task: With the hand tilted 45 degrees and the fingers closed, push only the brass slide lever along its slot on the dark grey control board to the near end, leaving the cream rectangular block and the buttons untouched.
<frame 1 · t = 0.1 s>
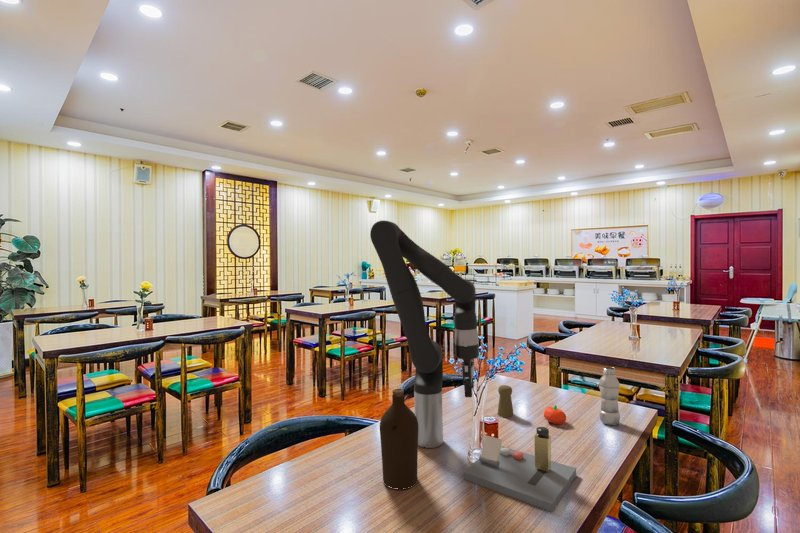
hand: (469, 392, 130), 17 cm above the table, tool pointing down, fingers open, 8 cm apart
control board: (520, 477, 111), on the table
plastic bottle: (609, 424, 144), on the table
cream rectangular block: (491, 450, 115), point 6 cm above the table, hinge at -28.0°
slide lever: (542, 448, 111), point 8 cm above the table, slide at 0.0 cm
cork: (505, 415, 154), on the table
pumpkin: (554, 422, 147), on the table
olive oil: (400, 481, 111), on the table
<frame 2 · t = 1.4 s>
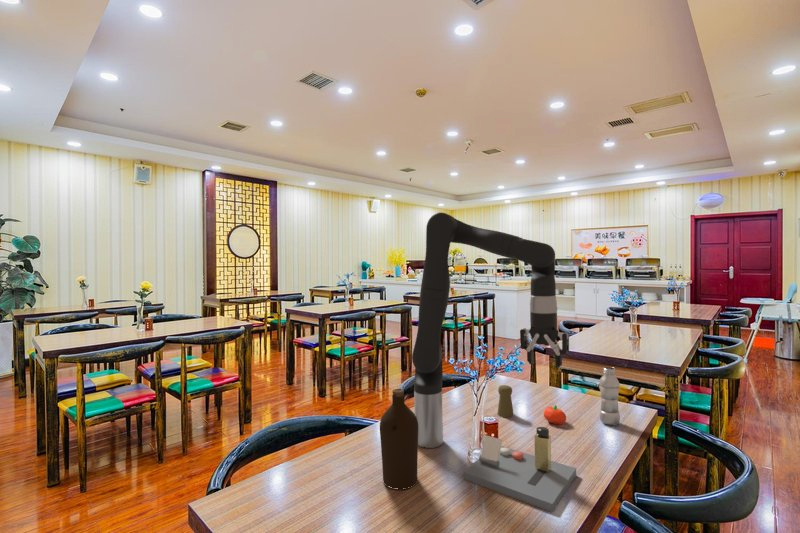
hand: (544, 365, 120), 28 cm above the table, tool pointing down, fingers open, 7 cm apart
nothing on the table moved.
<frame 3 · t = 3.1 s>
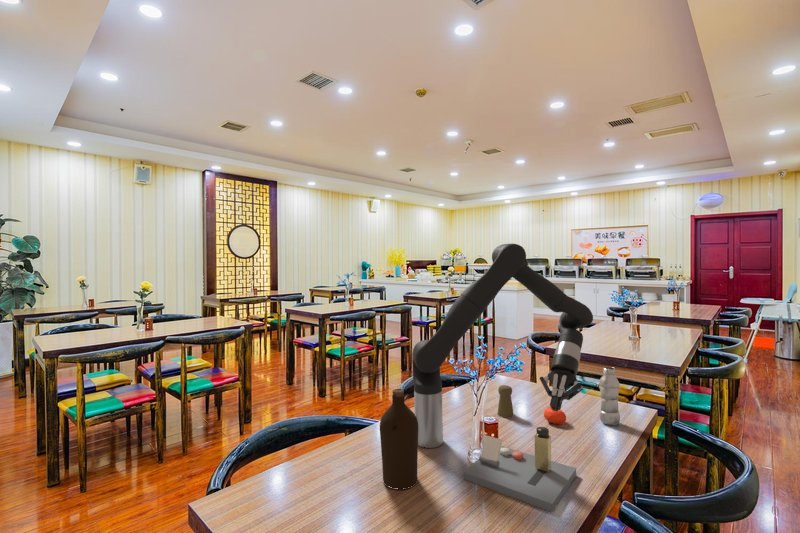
hand: (554, 409, 119), 15 cm above the table, tool tilted 45°, fingers closed
nothing on the table moved.
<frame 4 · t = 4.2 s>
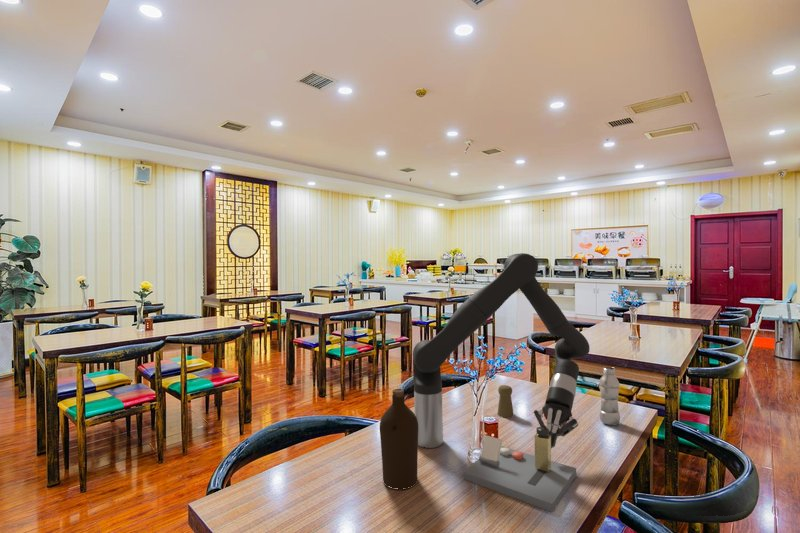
hand: (548, 446, 115), 6 cm above the table, tool tilted 45°, fingers closed
nothing on the table moved.
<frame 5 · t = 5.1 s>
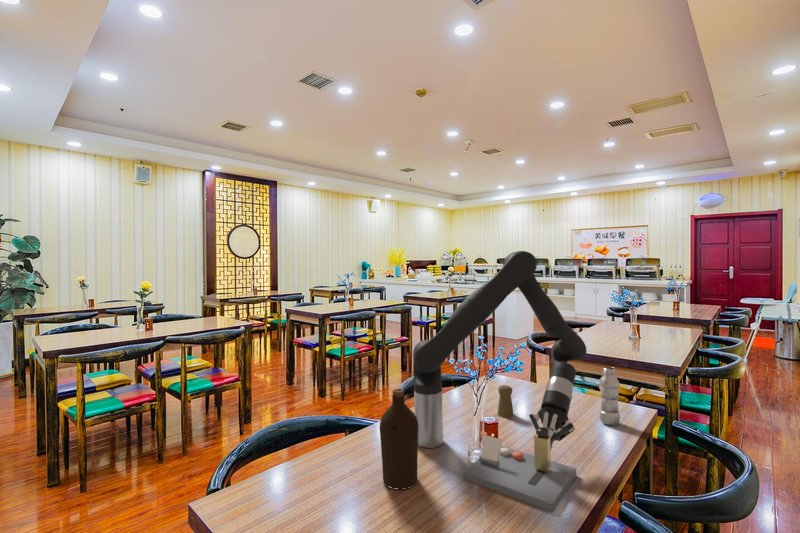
hand: (544, 451, 112), 6 cm above the table, tool tilted 45°, fingers closed
slide lever: (542, 449, 111), point 8 cm above the table, slide at 0.3 cm, touching gripper
everything else where it was.
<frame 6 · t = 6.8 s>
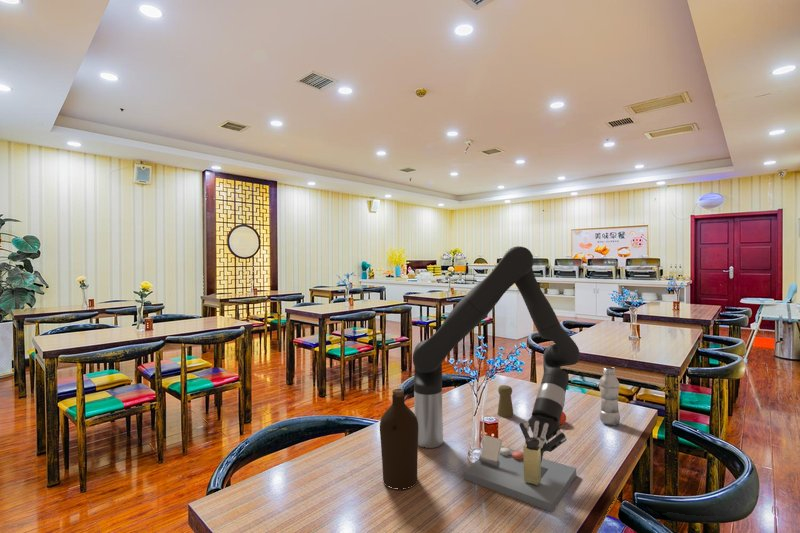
hand: (534, 463, 106), 6 cm above the table, tool tilted 45°, fingers closed
slide lever: (532, 460, 105), point 8 cm above the table, slide at 8.0 cm, touching gripper
everything else where it was.
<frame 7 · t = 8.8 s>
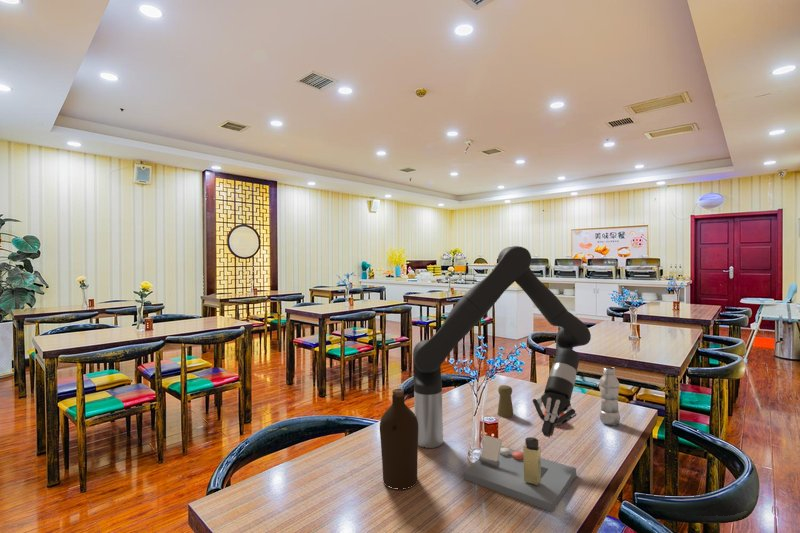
hand: (546, 435, 116), 9 cm above the table, tool tilted 40°, fingers closed
slide lever: (532, 460, 104), point 8 cm above the table, slide at 8.0 cm
everything else where it was.
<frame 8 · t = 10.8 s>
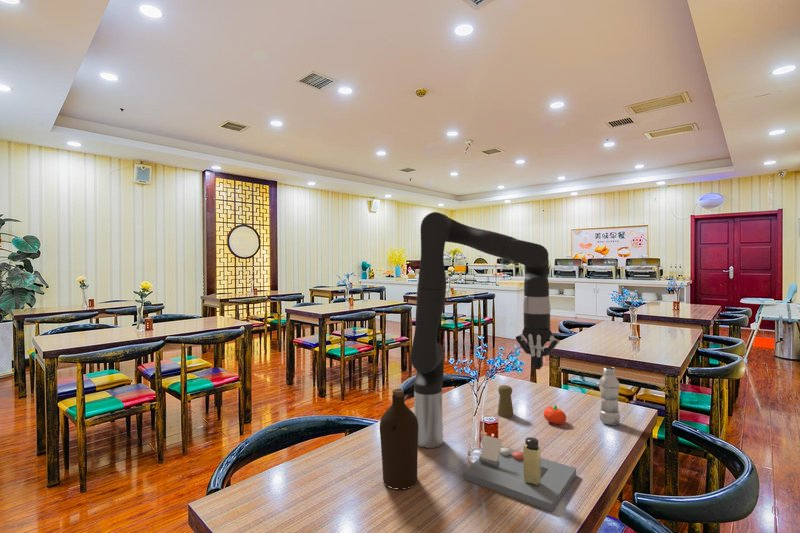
hand: (537, 368, 121), 27 cm above the table, tool pointing down, fingers closed
nothing on the table moved.
at the end: slide lever slide at 8.0 cm; cream rectangular block at -28° (first picture: -28°); slide lever touching nothing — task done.
